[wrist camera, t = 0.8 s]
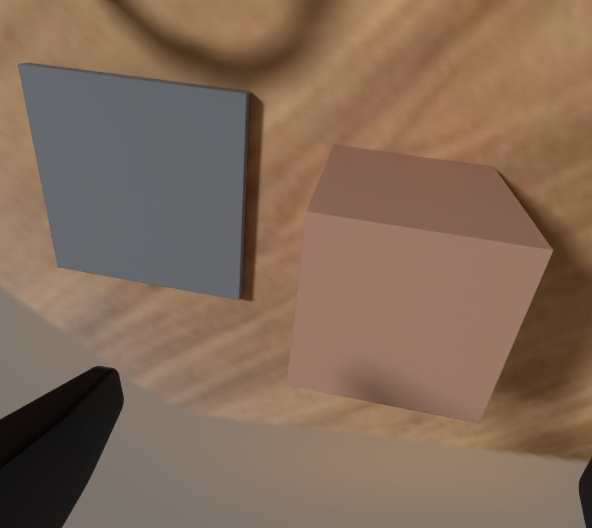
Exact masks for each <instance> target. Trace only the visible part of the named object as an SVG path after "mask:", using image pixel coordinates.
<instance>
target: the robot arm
mask: <svg viewBox="0 0 592 528" xmlns="http://www.w3.org/2000/svg"><path fill="white" fill-rule="evenodd" d="M123 401H124V397H123V392H122V387H121V382H120V377H119V373H118V371H117V370H116V369H114V368H109V367H103V366H96V367H93V368H91V369H90V370H88V371H86V372H84V373H82V374H81V375H79V376H77V377H75V378H73V379H72V380H70V381H68V382H66V383H65V384H63V385H61V386H60V387H58V388H56V389H54V390H52V391H50V392H48V393H47V394H45V395H43V396H41V397H40V398H38V399H36V400H34V401H32V402H30V403H29V404H27V405H25V406H23V407H22V408H20V409H18V410H16V411H14V412H13V413H11V414H9V415H7V416H5V417H4V418H2V419H0V528H62V526H63V525H64V523H65V521H66V520H67V518H68V516H69V515H70V513H71V511H72V509H73V508H74V506H75V504H76V503H77V501H78V499H79V497H80V496H81V494H82V492H83V490H84V489H85V487H86V485H87V483H88V481H89V480H90V477H91V475H92V473H93V471H94V469H95V467H96V465H97V463H98V461H99V458H100V456H101V454H102V452H103V450H104V447H105V445H106V443H107V441H108V438H109V436H110V434H111V432H112V430H113V428H114V425H115V423H116V421H117V419H118V417H119V414H120V412H121V410H122V407H123ZM579 495H580V500H581V505H582V510H583V515H584V520H585V525H586V528H592V458H591V460H590V461H589V463H588V465H587V467H586V469H585V471H584V472H583V474H582V476H581V478H580V481H579Z"/></svg>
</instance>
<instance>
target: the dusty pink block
mask: <svg viewBox="0 0 592 528" xmlns="http://www.w3.org/2000/svg"><path fill="white" fill-rule="evenodd" d="M552 252H553V249H552V248H551V246H550V245H549V243H548V242H547V241H546V239H545V238H544V236H543V235H542V234H541V232H540V231H539V229H538V228H537V227H536V225H535V224H534V222H533V221H532V220H531V218H530V217H529V215H528V214H527V213H526V211H525V210H524V208H523V207H522V206H521V204H520V203H519V201H518V200H517V199H516V197H515V196H514V194H513V193H512V192H511V190H510V189H509V187H508V186H507V185H506V183H505V182H504V180H503V179H502V178H501V176H500V175H499V173H498V172H497V171H496V169H495V168H494V167H487V166H480V165H473V164H466V163H459V162H451V161H444V160H437V159H430V158H423V157H416V156H408V155H401V154H394V153H387V152H380V151H373V150H365V149H358V148H351V147H344V146H337V145H333V148H332V150H331V153H330V155H329V158H328V160H327V162H326V165H325V167H324V170H323V172H322V175H321V177H320V179H319V182H318V184H317V187H316V189H315V192H314V194H313V197H312V199H311V201H310V204H309V206H308V209H307V211H306V219H305V228H304V236H303V245H302V254H301V263H300V272H299V281H298V289H297V298H296V307H295V316H294V325H293V334H292V342H291V351H290V360H289V369H288V378H287V385H289V386H294V387H299V388H304V389H309V390H314V391H319V392H324V393H329V394H334V395H339V396H344V397H349V398H354V399H359V400H364V401H369V402H374V403H379V404H384V405H389V406H394V407H399V408H404V409H409V410H414V411H419V412H424V413H429V414H434V415H439V416H445V417H450V418H455V419H460V420H465V421H470V422H475V423H480V421H481V418H482V416H483V414H484V411H485V409H486V407H487V404H488V402H489V400H490V397H491V395H492V393H493V390H494V388H495V386H496V383H497V381H498V379H499V376H500V374H501V372H502V369H503V367H504V365H505V362H506V360H507V358H508V355H509V353H510V350H511V348H512V346H513V343H514V341H515V339H516V336H517V334H518V332H519V329H520V327H521V325H522V322H523V320H524V318H525V315H526V313H527V311H528V308H529V306H530V304H531V301H532V299H533V297H534V294H535V292H536V290H537V287H538V285H539V283H540V280H541V278H542V276H543V273H544V271H545V269H546V266H547V264H548V262H549V259H550V257H551V255H552Z"/></svg>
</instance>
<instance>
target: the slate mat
mask: <svg viewBox="0 0 592 528" xmlns="http://www.w3.org/2000/svg"><path fill="white" fill-rule="evenodd" d="M18 67H19V72H20V77H21V83H22V88H23V93H24V98H25V103H26V108H27V113H28V118H29V123H30V128H31V133H32V139H33V144H34V149H35V154H36V159H37V164H38V169H39V174H40V179H41V184H42V189H43V195H44V200H45V205H46V210H47V215H48V220H49V225H50V230H51V235H52V240H53V246H54V251H55V256H56V261H57V266H58V267H60V268H65V269H71V270H76V271H82V272H88V273H93V274H99V275H104V276H110V277H115V278H121V279H126V280H132V281H137V282H143V283H149V284H154V285H160V286H165V287H171V288H176V289H182V290H187V291H193V292H198V293H204V294H209V295H215V296H221V297H226V298H232V299H237V300H239V299H240V297H241V295H242V284H243V259H244V235H245V210H246V186H247V161H248V136H249V112H250V92H249V91H242V90H234V89H226V88H218V87H211V86H203V85H195V84H188V83H180V82H172V81H164V80H157V79H149V78H141V77H133V76H126V75H118V74H110V73H103V72H95V71H87V70H79V69H72V68H64V67H56V66H48V65H41V64H33V63H22V64H18Z"/></svg>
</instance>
